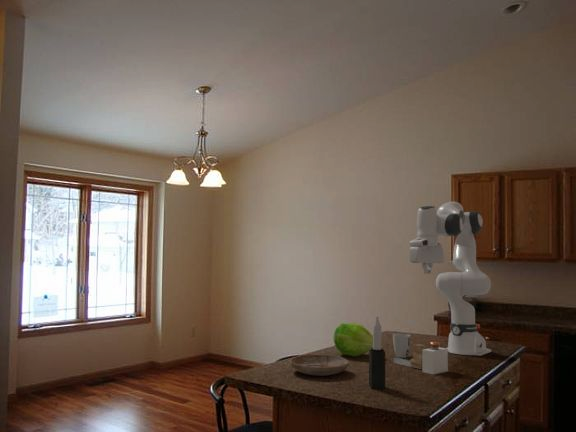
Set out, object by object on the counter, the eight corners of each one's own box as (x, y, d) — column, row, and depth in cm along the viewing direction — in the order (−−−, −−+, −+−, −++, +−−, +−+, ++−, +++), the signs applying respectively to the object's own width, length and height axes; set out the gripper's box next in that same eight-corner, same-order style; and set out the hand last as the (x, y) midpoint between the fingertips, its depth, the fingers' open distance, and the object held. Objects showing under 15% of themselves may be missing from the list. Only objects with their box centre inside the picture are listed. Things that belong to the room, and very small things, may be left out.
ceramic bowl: (280, 368, 211) (280, 356, 212) (330, 364, 221) (331, 352, 221) (305, 382, 190) (305, 368, 191) (359, 376, 200) (359, 363, 200)
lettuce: (367, 365, 229) (369, 332, 228) (326, 356, 239) (327, 324, 238) (379, 355, 244) (381, 324, 243) (340, 346, 254) (342, 316, 252)
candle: (368, 385, 186) (368, 315, 188) (382, 385, 187) (382, 315, 189) (371, 389, 181) (372, 317, 183) (386, 389, 182) (386, 317, 184)
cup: (410, 358, 235) (410, 336, 236) (392, 357, 237) (392, 335, 237) (410, 355, 243) (410, 333, 244) (392, 354, 245) (392, 333, 245)
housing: (437, 368, 215) (437, 347, 215) (447, 371, 211) (447, 348, 212) (422, 372, 209) (422, 349, 209) (432, 374, 205) (432, 351, 205)
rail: (396, 362, 227) (396, 357, 227) (431, 370, 212) (431, 365, 212) (393, 362, 226) (393, 358, 226) (428, 370, 211) (428, 365, 211)
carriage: (417, 365, 220) (417, 343, 220) (427, 367, 216) (427, 345, 216) (410, 366, 217) (410, 344, 217) (420, 368, 213) (420, 346, 213)
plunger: (433, 356, 213) (433, 341, 213) (442, 357, 210) (442, 342, 210) (427, 357, 210) (427, 342, 211) (436, 358, 207) (436, 343, 208)
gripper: (435, 242, 237) (435, 273, 236) (406, 241, 225) (407, 273, 224) (447, 242, 232) (447, 273, 231) (418, 241, 220) (418, 274, 219)
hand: (427, 273), depth 227 cm, fingers closed
